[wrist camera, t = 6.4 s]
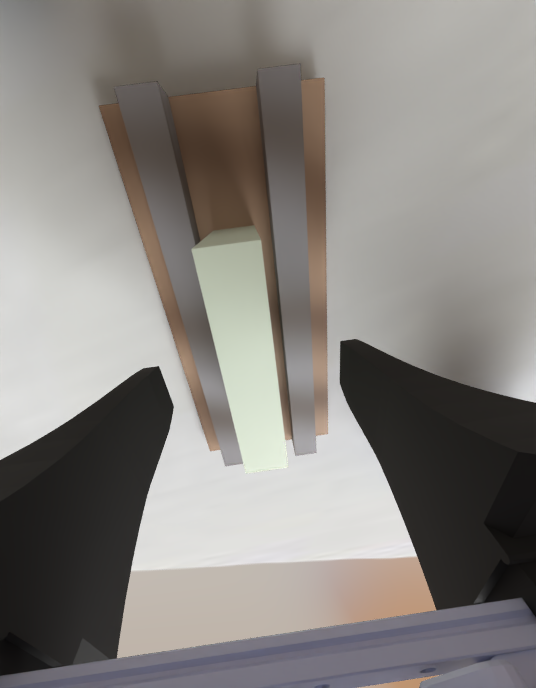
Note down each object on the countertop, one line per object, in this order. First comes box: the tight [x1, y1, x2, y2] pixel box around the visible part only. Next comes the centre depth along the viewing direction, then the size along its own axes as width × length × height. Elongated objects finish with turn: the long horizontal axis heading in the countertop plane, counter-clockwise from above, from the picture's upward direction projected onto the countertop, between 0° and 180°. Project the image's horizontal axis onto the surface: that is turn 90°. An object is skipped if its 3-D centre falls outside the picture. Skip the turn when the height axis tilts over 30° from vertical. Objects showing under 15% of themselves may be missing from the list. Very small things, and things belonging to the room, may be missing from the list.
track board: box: [99, 64, 328, 466], centre depth 15 cm, size 20×9×2 cm, turn 6°
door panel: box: [191, 225, 288, 474], centre depth 12 cm, size 10×2×6 cm, turn 6°
